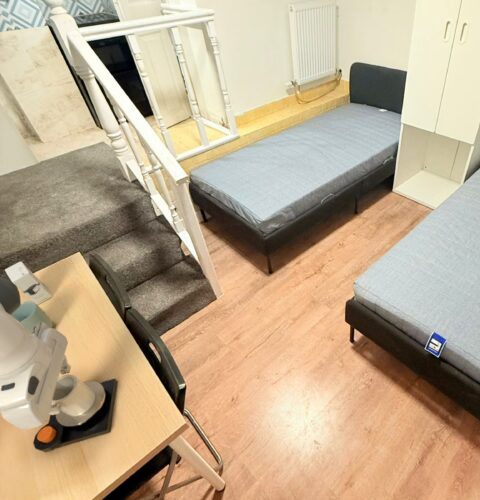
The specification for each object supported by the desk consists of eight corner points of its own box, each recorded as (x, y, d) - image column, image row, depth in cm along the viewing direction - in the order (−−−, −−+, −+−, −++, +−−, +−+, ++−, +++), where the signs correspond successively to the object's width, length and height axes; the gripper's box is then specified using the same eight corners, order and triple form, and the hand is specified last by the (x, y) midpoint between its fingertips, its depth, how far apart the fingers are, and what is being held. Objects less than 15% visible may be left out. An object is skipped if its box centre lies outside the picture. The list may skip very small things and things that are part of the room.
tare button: (40, 444, 75) (35, 442, 74) (44, 431, 77) (39, 428, 76) (54, 440, 76) (50, 438, 74) (58, 426, 78) (53, 424, 77)
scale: (39, 457, 76) (29, 453, 74) (55, 398, 86) (47, 392, 83) (109, 436, 79) (102, 431, 76) (117, 381, 88) (111, 375, 86)
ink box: (27, 292, 111) (3, 269, 103) (43, 283, 114) (21, 260, 105) (36, 306, 107) (11, 282, 99) (53, 296, 110) (29, 273, 101)
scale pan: (51, 433, 76) (50, 432, 76) (63, 389, 84) (61, 388, 83) (101, 418, 78) (100, 418, 78) (108, 376, 86) (107, 375, 85)
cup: (49, 316, 104) (29, 296, 97) (61, 328, 101) (41, 309, 94) (22, 334, 100) (-1, 315, 93) (34, 348, 96) (10, 329, 89)
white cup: (62, 419, 78) (41, 406, 72) (69, 393, 82) (49, 379, 77) (92, 411, 79) (73, 398, 73) (97, 385, 83) (80, 371, 78)
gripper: (21, 321, 72) (58, 353, 82) (-17, 417, 58) (33, 441, 68) (54, 314, 74) (86, 346, 83) (23, 406, 59) (67, 432, 69)
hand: (62, 390), depth 76 cm, fingers open, 8 cm apart
